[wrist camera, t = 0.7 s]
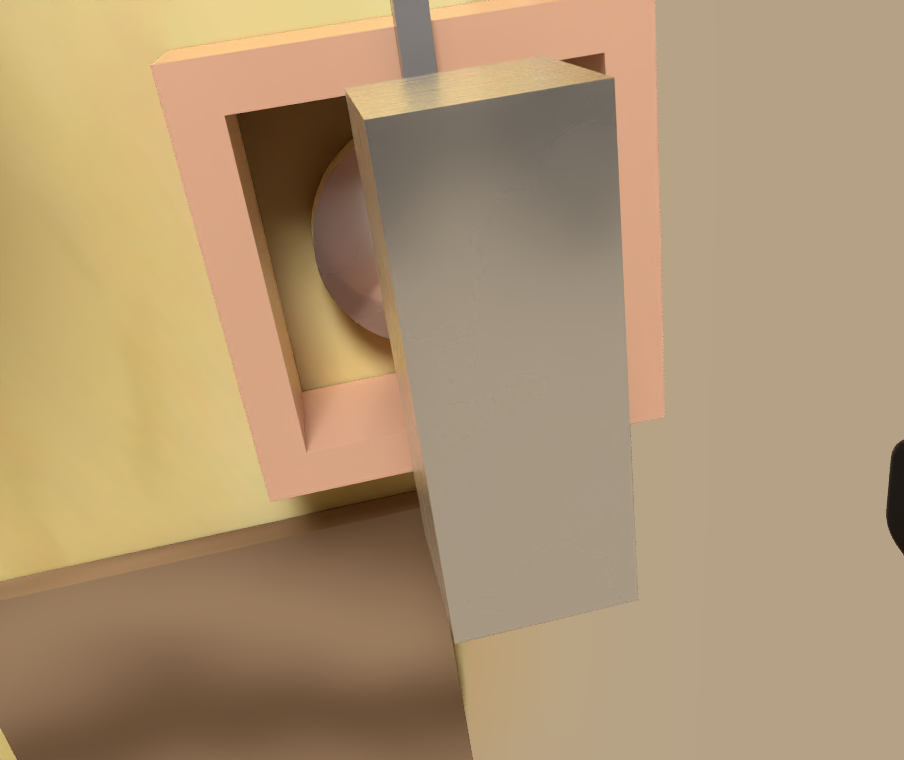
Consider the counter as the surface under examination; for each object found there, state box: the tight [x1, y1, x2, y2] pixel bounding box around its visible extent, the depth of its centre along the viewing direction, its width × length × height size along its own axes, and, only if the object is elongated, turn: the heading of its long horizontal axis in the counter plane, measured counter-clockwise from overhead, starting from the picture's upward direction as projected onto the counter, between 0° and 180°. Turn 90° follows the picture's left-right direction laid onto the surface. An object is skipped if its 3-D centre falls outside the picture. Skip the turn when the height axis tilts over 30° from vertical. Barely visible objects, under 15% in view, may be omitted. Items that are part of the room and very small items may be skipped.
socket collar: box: [150, 0, 665, 502], centre depth 18 cm, size 10×9×3 cm
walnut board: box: [0, 491, 473, 760], centre depth 24 cm, size 12×12×1 cm
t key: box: [311, 55, 638, 644], centre depth 16 cm, size 8×5×9 cm, turn 9°
